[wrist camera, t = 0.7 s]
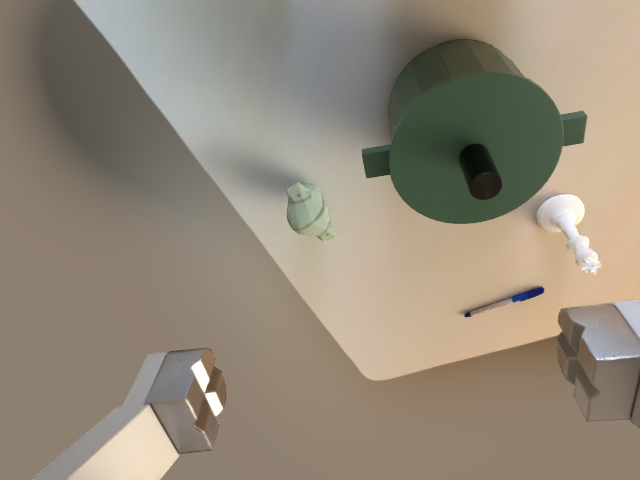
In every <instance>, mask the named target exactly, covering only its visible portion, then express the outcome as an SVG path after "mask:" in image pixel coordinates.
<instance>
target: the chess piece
mask: <svg viewBox="0 0 640 480" xmlns="http://www.w3.org/2000/svg"><path fill="white" fill-rule="evenodd" d="M583 216H584V206H583V204H582V201H581V200H580V199H579V198H578V197H576V196H574V195H569V194H563V195H557V196H554V197H552V198H550V199H548V200H547V201H545V202H544V203H543V204H542V205H541V206H540V208H539V209H538V211H537V215H536V219H537V222H538V224H539V225H540V226H541V227H542V228H543V229H544V230H546V231H548V232H552V233H560V232H563V233H564V234H565V235H566V237H567V238H568V239H569V241H568V243H567V249H568V250H570V251H571V252H574V253H575V261H576V263H577V265H579V266H581V267H583V268H581V269H582V271H583V272H584V274H585V273H587V272H590V271H591V272H592V274H593V275H596V274H598V272H597V271H596V269H597V268H599V267H601V266H602V265H601V263H600V262H599V261H597V259H598V255H597V254H596V253H595V252H594V251H593V250H591V249H589V248H588V245H589V239H588V238H587V237H585V236H579V234H578V231H577V229H576V225H577V224H578V223H579V222H580V221H581V220H582V218H583Z"/></svg>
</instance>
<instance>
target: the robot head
mask: <svg viewBox="0 0 640 480" xmlns="http://www.w3.org/2000/svg"><path fill="white" fill-rule="evenodd" d="M286 190H287V194H288V198H289V200H288V207H287V220H288V222H289V224H290V226H291V228H292V229H293V230H294V231H295V232H297V233H298V234H302V235H312V236H316V237H318V238H319V239H321V240H322V241H326V240H329V239H333V238H336V237H337V236H336V233H335V230H334V227H333V224H332V221H331V218H330V214H329V210H328V207H327V203H326V200H325V198H324V196H323V194H322V193H321V191H320V190H319V189H318V188H317V187H316V186H314V185H311V184H304V185H302V184H300V183H299V182H296V183H295V184H293V185H292V186H291V187H289V188H288V189H286Z"/></svg>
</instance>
